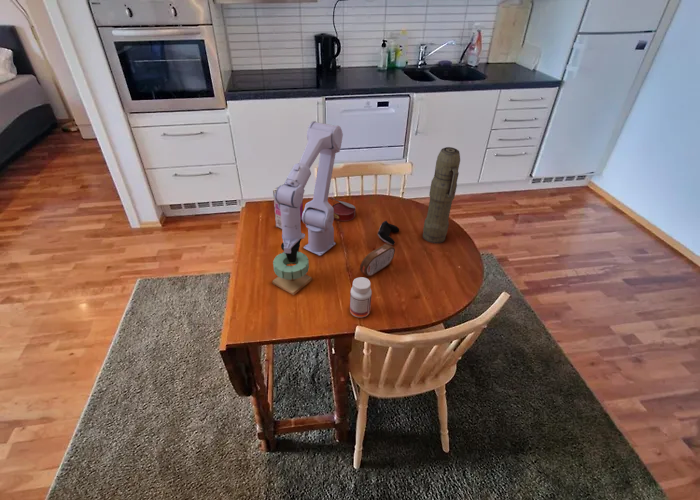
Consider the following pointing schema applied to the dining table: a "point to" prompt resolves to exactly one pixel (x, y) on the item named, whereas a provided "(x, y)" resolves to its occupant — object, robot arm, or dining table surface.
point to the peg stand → (292, 283)
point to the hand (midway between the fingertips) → (293, 258)
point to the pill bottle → (360, 297)
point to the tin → (377, 259)
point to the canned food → (343, 211)
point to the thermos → (441, 195)
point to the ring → (291, 271)
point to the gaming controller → (387, 232)
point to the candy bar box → (278, 213)
